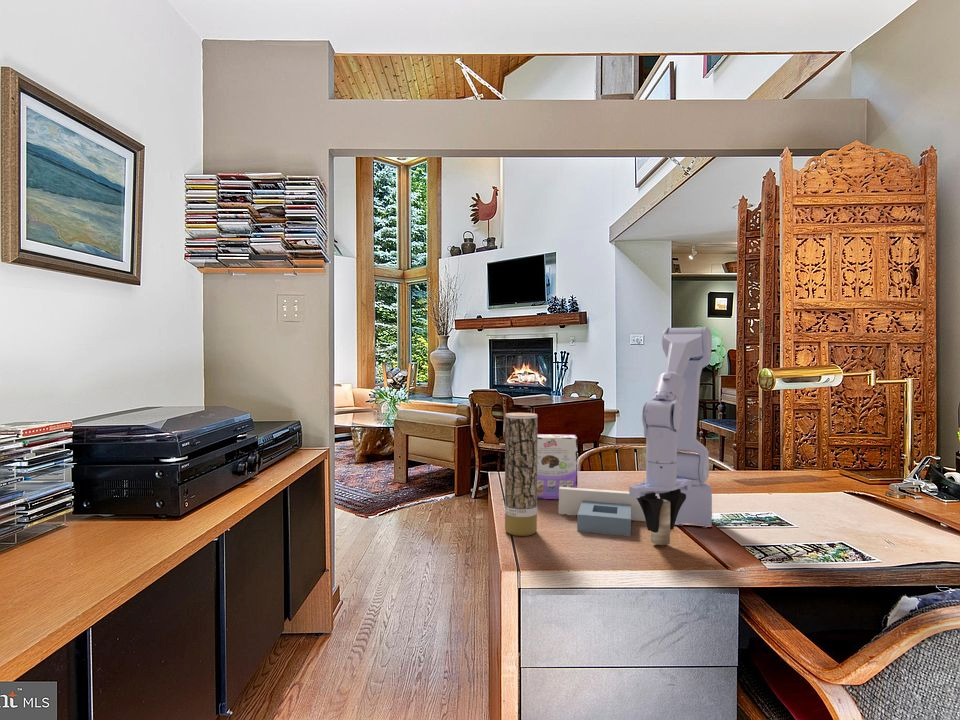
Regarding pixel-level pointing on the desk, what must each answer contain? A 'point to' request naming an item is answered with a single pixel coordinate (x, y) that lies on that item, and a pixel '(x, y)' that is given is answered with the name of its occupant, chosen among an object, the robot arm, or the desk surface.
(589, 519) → the socket block
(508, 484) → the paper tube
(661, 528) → the dowel
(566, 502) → the wall
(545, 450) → the candy box
